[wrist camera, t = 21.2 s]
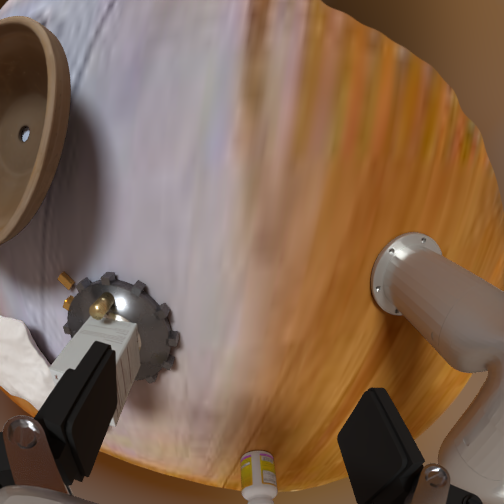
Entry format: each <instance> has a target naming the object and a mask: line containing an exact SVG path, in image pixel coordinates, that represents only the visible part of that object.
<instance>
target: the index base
mask: <svg viewBox="0 0 504 504" xmlns="http://www.w3.org/2000/svg"><path fill="white" fill-rule="evenodd" d="M58 280H59V281H60V282H61V283H62V284H63V285H64V286H65V287H66V288H67V289H68V290H70V289H71V288H72V286H73V285H74V283H75V282H74V281H73V280H72V279H71V278H70V277H69V276H68V275H67V274H66V273H65V272H62V273H61V274H60V276H59V278H58Z"/></svg>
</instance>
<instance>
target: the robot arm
mask: <svg viewBox="0 0 504 504" xmlns="http://www.w3.org/2000/svg"><path fill="white" fill-rule="evenodd" d="M389 250H390V251H389ZM371 290H372V294H373V297H374V299H375V301H376V302H377V304H378V305H379V306H380V307H381V308H382V309H383V310H384V311H386V312H387V313H389V314H392V315H399V316H400V315H403V316H404V317H405V318H406V319H407V320H408V321H409V322H410V323H411V324H412V325H413V326H414V327H415V328H416V329H417V330H418V331H419V332H420V333H421V335H422V336H423V337H424V338H425V339H426V340H427V341H428V342H429V343H430V344H431V345H432V346H433V348H434V349H435V350H436V351H437V352H438V353H439V354H440V355H441V356H442V357H443V358H444V359H445V361H446V362H447V363H448V364H449V365H450V366H451V367H453V368H454V369H456V370H458V371H461V372H466V373H476V372H483V371H488V376H487V379H486V381H485V382H484V384H483V386H482V387H481V389H480V391H479V393H478V394H477V395H476V397H475V398H474V400H473V401H472V403H471V404H470V405H469V407H468V408H467V410H466V411H465V412H464V414H463V415H462V416H461V418H460V419H459V420H458V421H457V423H456V424H455V425H454V427H453V428H452V429H451V431H450V432H449V433H448V435H447V436H446V438H445V439H444V441H443V443H442V445H441V447H440V450H439V454H438V464H435V463H432V464H427V465H426V466H425V467H423V465H422V464H423V463H424V462H425V460H424V458H423V456H422V454H421V452H420V451H419V449H418V447H417V445H416V443H415V441H414V439H413V438H412V436H411V434H410V432H409V430H408V428H407V427H406V425H405V423H404V421H403V419H402V418H401V416H400V414H399V412H398V411H397V409H396V407H395V405H394V403H393V402H392V400H391V398H390V396H389V395H388V393H387V391H386V390H385V389H384V388H370V389H368V391H366V392H364V394H363V395H362V397H361V399H360V401H359V402H358V404H357V405H356V407H355V409H354V410H353V412H352V414H351V415H350V417H349V418H348V420H347V421H346V423H345V425H344V426H343V428H342V429H341V431H340V432H339V434H338V438H337V440H338V444H339V447H340V450H341V453H342V457H343V460H344V463H345V466H346V469H347V472H348V476H349V479H350V482H351V485H352V488H353V491H354V495H355V498H356V501H357V503H358V504H482V502H485V503H488V504H504V292H503V291H501V290H500V289H498V288H496V287H495V286H493V285H492V284H490V283H488V282H487V281H485V280H483V279H482V278H480V277H478V276H476V275H475V274H473V273H471V272H470V271H468V270H466V269H464V268H463V267H461V266H459V265H457V264H456V263H454V262H452V261H450V260H449V259H447V258H445V257H443V256H442V252H441V250H440V248H439V246H438V245H437V243H436V242H435V241H434V240H433V239H432V238H430V237H429V236H427V235H425V234H422V233H418V232H410V233H405V234H402V235H400V236H398V237H396V238H395V239H393V240H392V241H390V242H389V243H388V244H387V245H386V246H385V247H384V248H383V250H382V251H381V253H380V254H379V256H378V257H377V259H376V261H375V264H374V267H373V269H372V274H371ZM117 402H118V399H117V381H116V352H115V350H112V348H111V345H109V344H106V343H103V342H100V341H95V342H94V343H93V344H92V346H91V347H90V348H89V350H88V351H87V353H86V354H85V355H84V357H83V358H82V360H81V361H80V363H79V364H78V366H77V367H76V369H75V370H74V369H71V368H69V369H67V370H66V371H65V373H64V374H63V376H62V377H61V378H60V380H59V381H58V383H57V384H56V386H55V387H54V389H53V390H52V392H51V393H50V395H49V396H48V398H47V399H46V401H45V402H44V404H43V405H42V407H41V408H40V410H39V411H38V413H37V414H36V416H35V417H34V419H33V418H31V417H28V416H15V417H13V418H11V419H9V420H8V421H7V422H6V423H5V425H4V428H3V432H0V504H97V503H94V502H91V501H87V500H84V499H81V498H79V497H75V496H74V495H73V493H72V491H71V489H70V487H69V485H72V483H73V480H74V479H75V480H78V481H80V482H82V480H83V478H84V476H86V477H89V475H90V473H91V470H92V468H93V465H94V463H95V460H96V457H97V455H98V452H99V450H100V447H101V445H102V442H103V440H104V437H105V435H106V432H107V430H108V427H109V425H110V423H111V420H112V418H113V415H114V413H115V411H116V408H117Z"/></svg>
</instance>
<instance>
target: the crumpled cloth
mask: <svg viewBox="0 0 504 504" xmlns="http://www.w3.org/2000/svg"><path fill="white" fill-rule="evenodd" d="M50 366H51V365H50V363H49V362H48V361H47V359H46V357H45V356H44V355H43V354H42V352H41V351H40V350H39V348H38V347H37V345H36V343H35V341H34V340H33V338H32V336H31V333H30V331H29V329H28V327H27V326H26V324H25V323H24V322H23V321H21V320H17V319H13V318H7V317H3V316H1V315H0V386H2V387H3V388H4V389H5V390H6V391H7V392H9V393H10V394H11V395H13V396H18V397H20V398H23V399H25V400H27V401H28V402H30V403H31V404H32V405H33V406H34V407H35V408H36V409H37V410H40V408H41V407H42V405H43V404H44V402H45V401H46V399H47V398H48V396H49V395H50V393H51V392H52V390H53V389H54V387H55V385H54V382H53V379H52V376H51V372H50V369H49V367H50Z"/></svg>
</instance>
